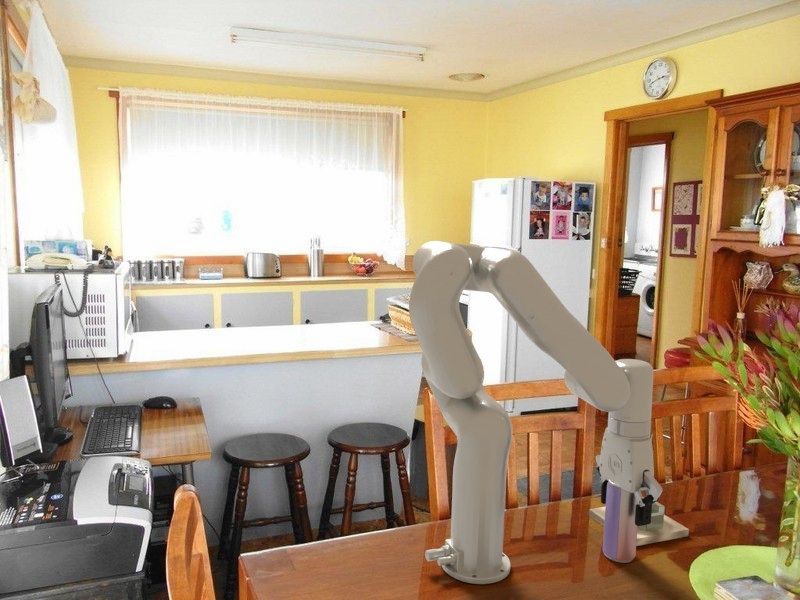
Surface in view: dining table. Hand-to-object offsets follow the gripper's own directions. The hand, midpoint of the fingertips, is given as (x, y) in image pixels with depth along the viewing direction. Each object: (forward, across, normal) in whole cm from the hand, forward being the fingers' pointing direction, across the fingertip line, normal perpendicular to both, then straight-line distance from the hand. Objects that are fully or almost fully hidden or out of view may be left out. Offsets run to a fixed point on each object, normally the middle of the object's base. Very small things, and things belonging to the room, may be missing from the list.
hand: (624, 513), depth 124 cm
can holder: (+9, -9, +11) cm, 17 cm away
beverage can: (+9, 0, -1) cm, 9 cm away
